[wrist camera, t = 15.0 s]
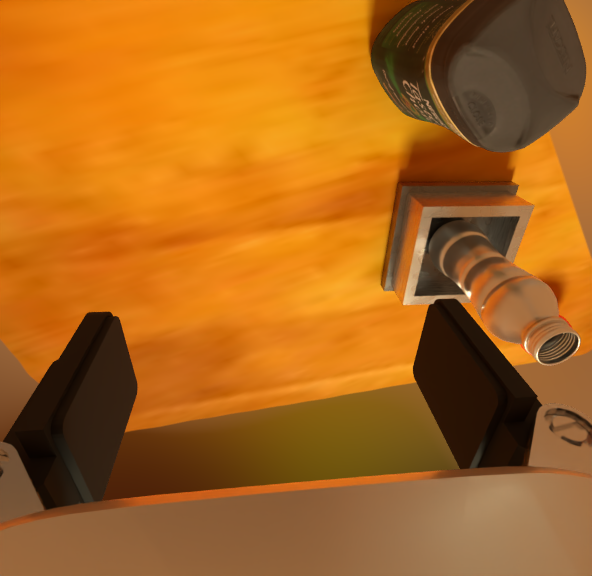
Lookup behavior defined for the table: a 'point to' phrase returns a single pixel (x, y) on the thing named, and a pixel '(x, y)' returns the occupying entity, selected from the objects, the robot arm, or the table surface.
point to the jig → (436, 212)
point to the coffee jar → (483, 67)
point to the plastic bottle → (503, 293)
